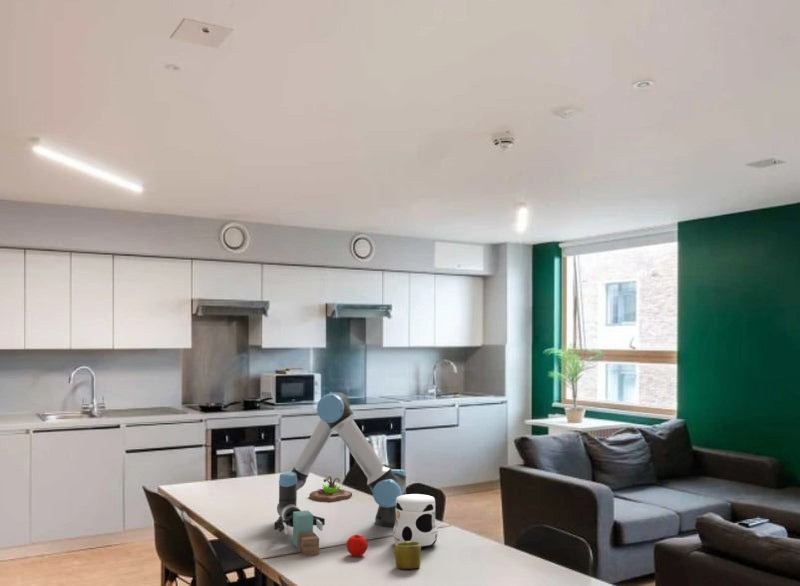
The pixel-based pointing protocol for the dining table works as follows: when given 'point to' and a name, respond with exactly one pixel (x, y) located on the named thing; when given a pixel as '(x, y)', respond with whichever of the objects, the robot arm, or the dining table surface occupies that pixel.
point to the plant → (330, 492)
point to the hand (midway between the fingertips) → (304, 528)
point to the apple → (356, 545)
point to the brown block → (308, 543)
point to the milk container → (415, 519)
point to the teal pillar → (301, 524)
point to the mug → (407, 555)
